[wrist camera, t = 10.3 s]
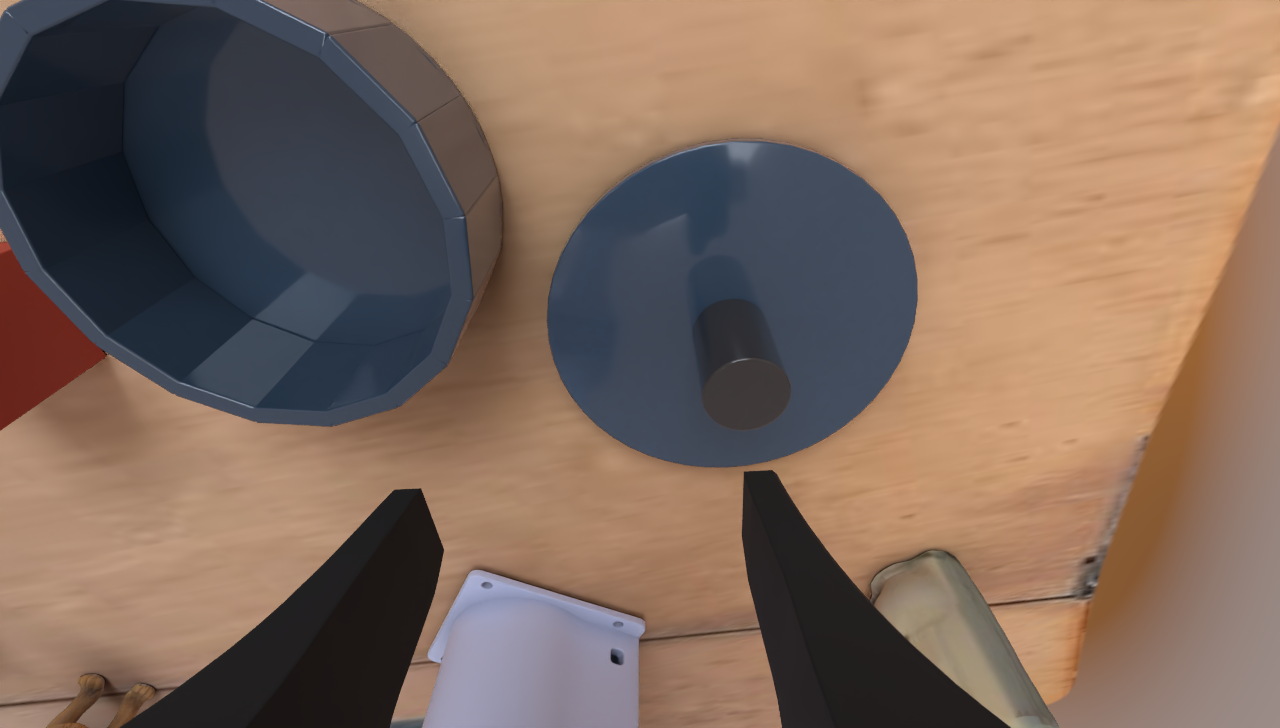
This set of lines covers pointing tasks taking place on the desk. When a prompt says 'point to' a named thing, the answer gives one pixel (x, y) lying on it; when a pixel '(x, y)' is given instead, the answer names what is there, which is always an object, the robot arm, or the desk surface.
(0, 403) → the block
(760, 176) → the lid
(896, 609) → the electronic device
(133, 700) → the lion figurine
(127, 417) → the desk surface
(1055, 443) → the desk surface
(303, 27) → the pot
